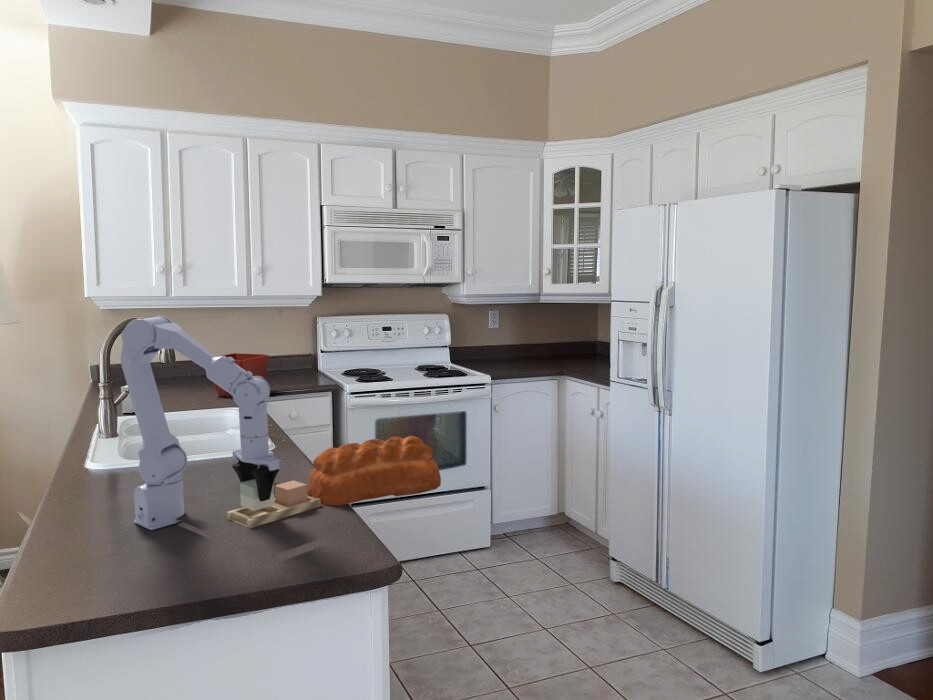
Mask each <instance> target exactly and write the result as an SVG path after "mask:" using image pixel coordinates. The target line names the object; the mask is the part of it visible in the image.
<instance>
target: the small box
mask: <svg viewBox="0 0 933 700" xmlns="http://www.w3.org/2000/svg"><path fill="white" fill-rule="evenodd" d="M125 390H129V389H128V386H127V385H125V386H120V392H121V393H120V394H122V392H124V391H125ZM121 407H122V408H121V410H122V414H123V413H132V412H135V410H134V407H133V403H132V400H131V396H130V393H129V394H128V396H127V397H126V398H125V399H124V400H123V401H122V400H121Z"/></svg>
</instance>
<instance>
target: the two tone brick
mask: <svg viewBox="0 0 933 700" xmlns="http://www.w3.org/2000/svg"><path fill="white" fill-rule="evenodd" d="M274 483H275V482H274ZM274 483H273V486H272V491H271V496H270V499H269V500H265V501H260V500H259V496H258V489H257V484H256V481H255V479H253V480H249V481H245V482H239V487H240V488H239V489H240V490H239V491H240V492H239V493H240V506H241V507H246V508H248V509H250V510H252V511H256V510H259V509H263V508H266V507H270V506H273V505H274V498H275V484H274Z"/></svg>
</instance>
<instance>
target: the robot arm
mask: <svg viewBox="0 0 933 700" xmlns="http://www.w3.org/2000/svg"><path fill="white" fill-rule="evenodd" d="M120 335H121V339H122V346H121V353H120V364H121V369H122V372H123V375H124V378H125V383H126V386H128V389H129V393H130V396H131V400H132V403H133V407H134V410H135V414H134V415H135V417H136V420H137V424H138V428H139V430H140V435H141V438H142V441H141V442H142V443H141V444H140V448H139V449H138V452H137V453H138V458H139V464H138V473H139V475H140V477H141V478H142V480H143V481H145V483H144V484H142V485H138V486H137V487H135V489H134V491H133V500H134V501H133V503H134V516H135V518H134V520H133V522H134V523H135V524H137V525H139V526H141V527H143V528H146V529H147V530H149V531H153V530H157V529H160V528H164V527H167V526H170V525H174V524H177V523H182V522H183V520H181V519H179V518H180V517H182V516H184V514H185V499H184V498H185V497H184V483H183V482H184V480H183V470H184V469H185V468H186V466H187V465H188V456H187V453H186V451H185V450H184V448H182V446H181V444H180V442H179V439H178V438H177V437H176V436H175V435H174V434H173V433H171V432H170V429H169V426H168V422H167V418H166V415H165V411H164V409H163V405H162V401H161V397H160V394H159V389H158V386H157V384H156V383H157V382H156V379H155V375H154V372H153V369H152V365H151V362H152V361H153V359H155V357H156V355H157V354H158V352H159V351H161V350H163V349H164V350H165V349H166V350H167V349H168V350H174V351H176V352H178V353H180V354H181V355H183V356H184V357H186V358H187V359H189V361H192V362H193V363H195V364H197V365H198V366H199V367H201V368H203V369H205V370H204V371H205V372H206V373H205V374H206V377H207V379H208V380H210V381H211V382H212V381H213V382H214V383H216V384H217V385H218V386H220V387H221V388H223V389H224V390H225V391H227V392H228V393H230V394H231V395H233V397H232V399H233V402H234V403H235V404H236V405H237V407H238V414H239V415H238V421H239V422H238V425H239V439H240V440H239V441H240V444H239V445H240V448H239V449H236V450H232V460H233V461H237V463H234V464H232V466H231V467H232V469H233V470H234V471H235V474H236V475H237V477H238V479H239V481H240V482H239V483H241V482H245V481H249V480H253V479H255V481H256V484H257V489H258V496H259V500H260V501H265V500H269V499H270V496H271V491H272V486H273V483H275V479H276V478H277V475H278V473H279V472H280V460H279V459H277V458H275V457H274V452H273V451H272V450H271V451H270V445H269V425H268V408H267V407H268V405H267V400H268V398H269V397H270V395H271V387H270V384H269V383H268V381H267V380H266V379H264V378H263V377H261V376H252V375H253V373H251V372H250V371H248V372H247V371H245V370H244V369H242V368H241V367H240V366H238V365H237V364H235V363H234V361H235V360H234V359H233V358H232V357H228V358H227V357H225V356H221V355H218V356H219V357H216V355H214V354H213V353H212V352H211V351H209V350H208V349H207V348H206V347H204V346H203V345H202V344H201V343H200V342H198V341H197V340H196V339H194V338H193V337H192V336H190V335H189V334H188V333H187V332H186V331H185V330H184V329H182V328H181V326H180V325H179V324H178V323H176V322H172V320H171V319H170V318H169V317H167V316H164V315H158V316H157V315H156V316H154V317H149V318H148V317H147V318H135V319H132V320H130V321H129V322H128V323H127V324H126V326H125V327H124V329H123V330H122V331H121V333H120ZM213 382H212V383H213ZM258 466H260V468H258Z"/></svg>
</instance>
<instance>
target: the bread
mask: <svg viewBox="0 0 933 700" xmlns="http://www.w3.org/2000/svg"><path fill="white" fill-rule="evenodd" d="M312 466H313V470H311V472H310V474H309V476H308V483H307V495H308V496H309V495H310V497H313V498H319V499H321V505H323V506H342V505H347V504H353V503H357V502H361V501H367V500H375V499H379V498H383V497H385V498H386V497H388V496H389V497H390V496H394V497H400V496H410V495H418V494H422V493H426V492H431V491H434V490H437V489H438V488H439V487H440V486H441V483H442V481H441V480H442V477H441V472H440V469H439V467H438V463H437V462H436V460H434V454H433V447H430V446H429V445H426V444H425V442H424V441H423V440H422V439H421V438H419V437H417V436H415V435H409V436H407V437H404V438H403V437H401V436H400V435H397V436H396V435H395V436H391V437H390V438H388V439H387V440H384V439H380V438H372V439H368V440H365V441H364V442H363V443H361V444H360V443H358V442H351V443H345V444H342V445H341V446H339V447H338V448H337V447H329V448H326V449H325V450H324V451H322V452H321V453H320V454H319V455H317V456H316V457H315V458H314V459H313V464H312Z"/></svg>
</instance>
